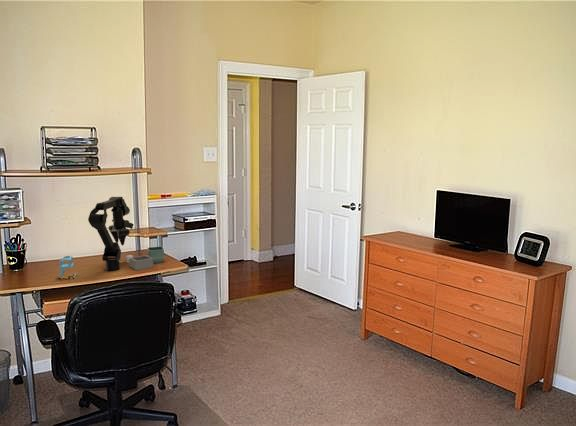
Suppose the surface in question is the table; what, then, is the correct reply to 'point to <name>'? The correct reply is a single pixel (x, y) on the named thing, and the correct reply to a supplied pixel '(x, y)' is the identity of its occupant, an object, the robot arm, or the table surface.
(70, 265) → the chair
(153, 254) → the flower pot
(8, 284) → the table surface
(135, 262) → the storage box
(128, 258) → the lid
